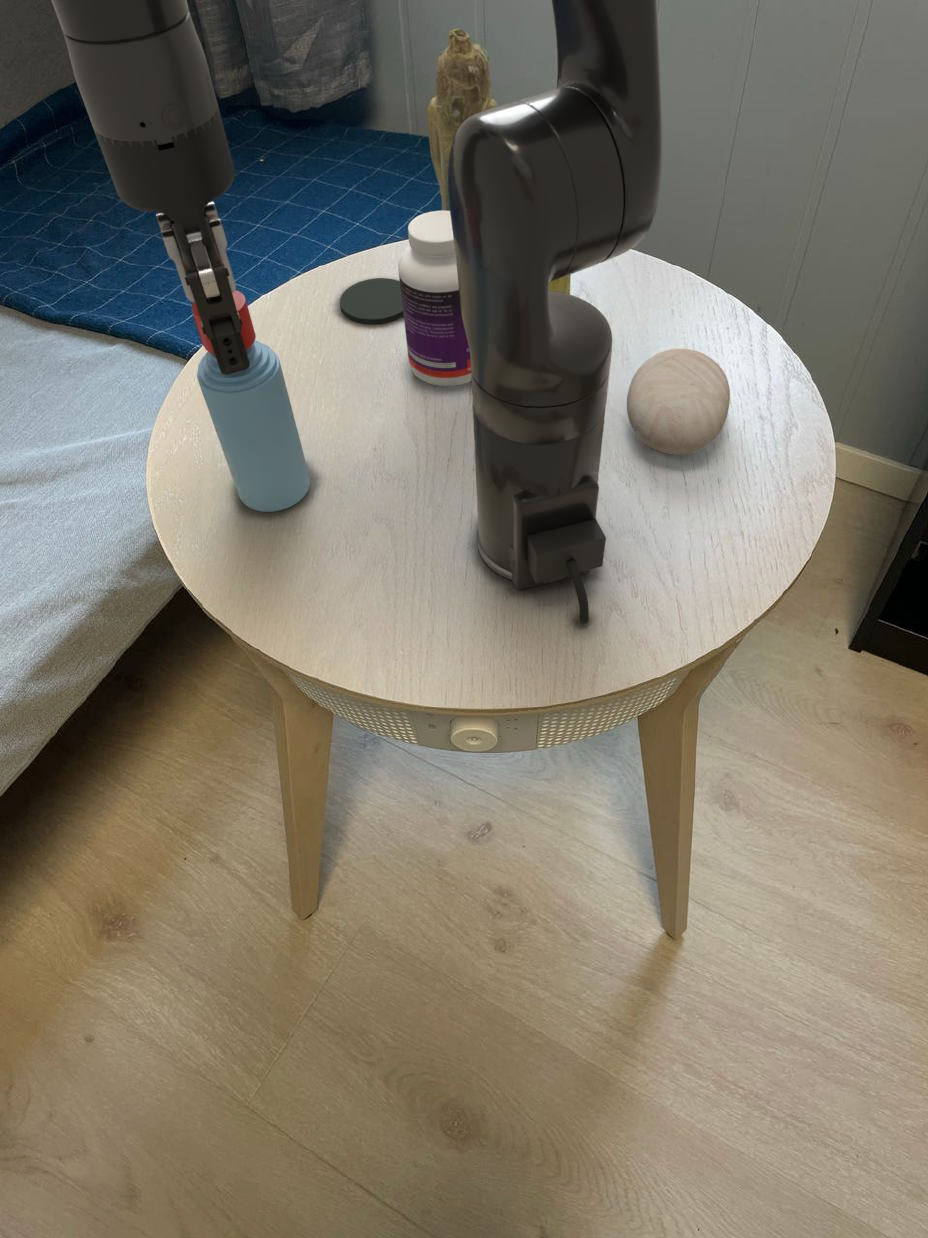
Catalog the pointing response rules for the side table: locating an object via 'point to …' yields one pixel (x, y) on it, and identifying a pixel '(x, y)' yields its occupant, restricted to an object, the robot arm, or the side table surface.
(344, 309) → the coaster
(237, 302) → the cap
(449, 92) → the statue
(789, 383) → the side table surface
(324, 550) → the side table surface
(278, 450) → the bottle
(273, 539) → the side table surface
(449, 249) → the pill bottle
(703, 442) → the decorative stone
